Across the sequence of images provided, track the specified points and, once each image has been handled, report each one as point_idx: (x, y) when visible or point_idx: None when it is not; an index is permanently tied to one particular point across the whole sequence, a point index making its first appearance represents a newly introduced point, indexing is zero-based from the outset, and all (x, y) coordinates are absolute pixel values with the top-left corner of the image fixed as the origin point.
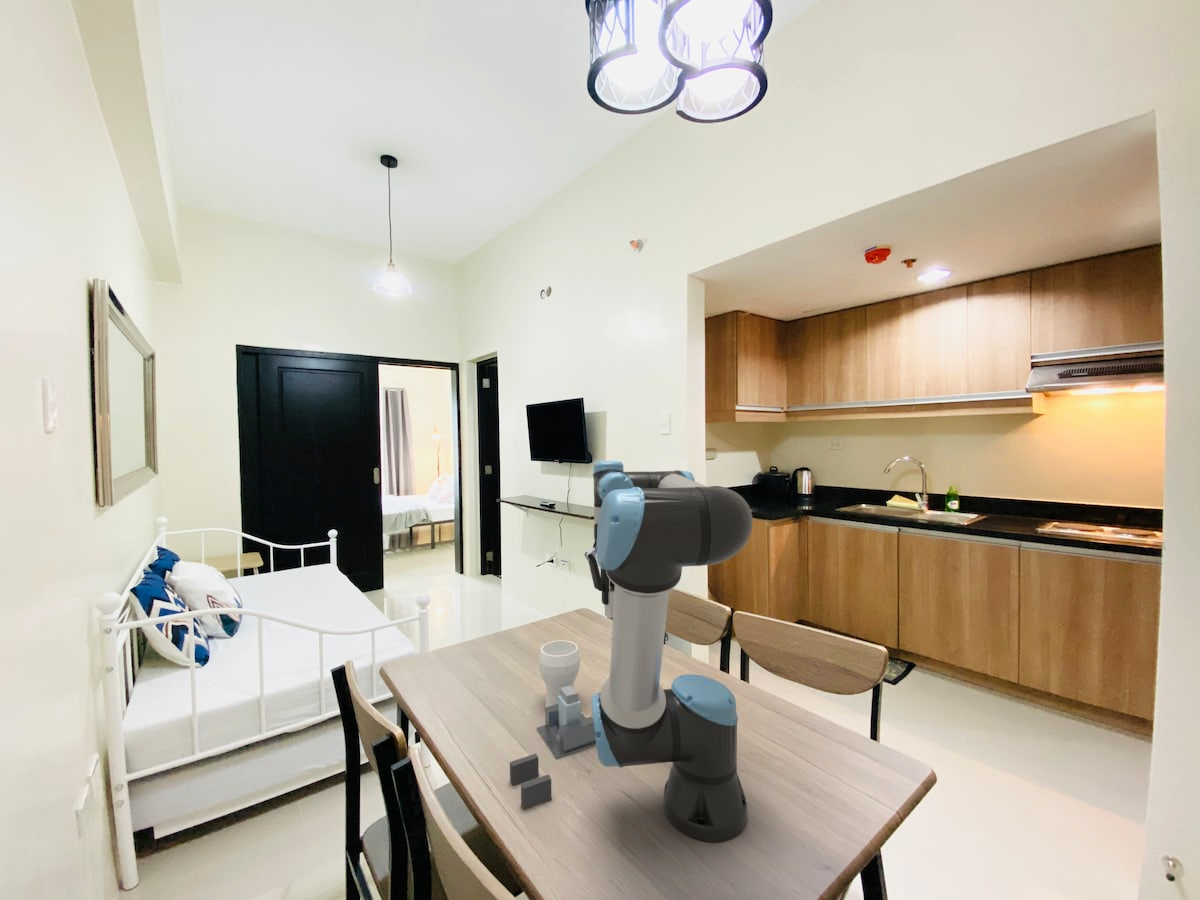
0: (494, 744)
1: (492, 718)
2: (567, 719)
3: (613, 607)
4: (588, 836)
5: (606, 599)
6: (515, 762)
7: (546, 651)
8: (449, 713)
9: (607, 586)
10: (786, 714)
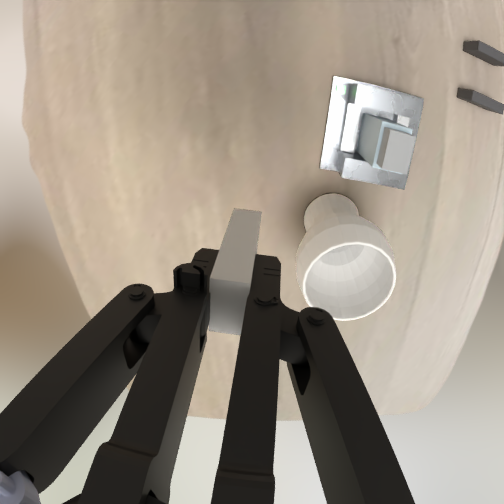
0: (464, 193)
1: (431, 252)
2: (401, 124)
3: (235, 231)
4: None
5: (266, 271)
6: (498, 107)
7: (352, 306)
8: (456, 294)
9: (261, 316)
10: (32, 10)
